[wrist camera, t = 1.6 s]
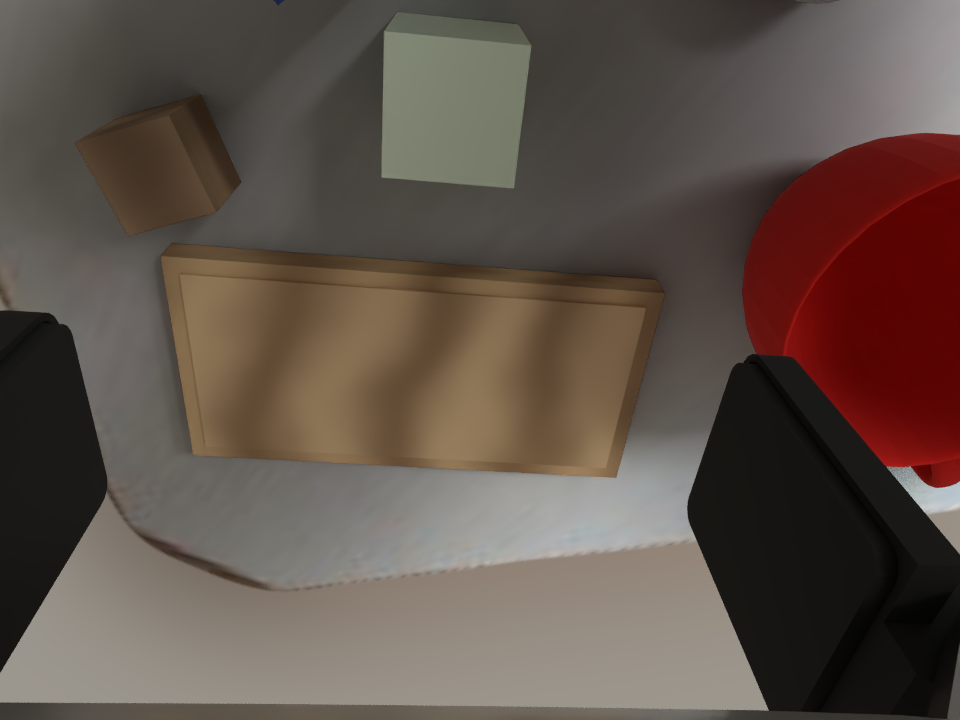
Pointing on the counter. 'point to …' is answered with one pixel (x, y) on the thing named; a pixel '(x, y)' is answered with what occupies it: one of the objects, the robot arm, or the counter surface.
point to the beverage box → (278, 1)
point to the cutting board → (407, 360)
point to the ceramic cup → (871, 294)
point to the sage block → (453, 99)
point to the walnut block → (161, 165)
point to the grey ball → (816, 1)
